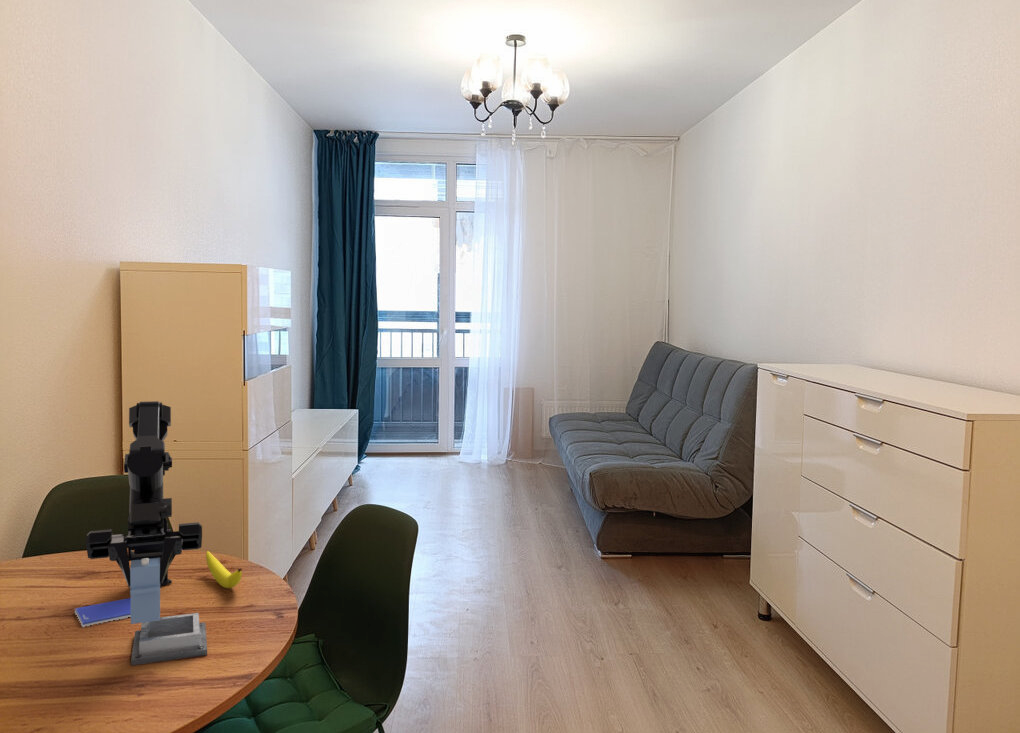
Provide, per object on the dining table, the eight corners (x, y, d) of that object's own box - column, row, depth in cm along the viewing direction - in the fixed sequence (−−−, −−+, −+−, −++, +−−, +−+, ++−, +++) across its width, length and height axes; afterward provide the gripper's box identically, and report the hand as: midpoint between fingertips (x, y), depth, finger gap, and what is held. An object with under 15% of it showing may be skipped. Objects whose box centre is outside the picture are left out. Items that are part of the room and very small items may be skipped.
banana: (213, 570, 175) (213, 543, 174) (247, 596, 160) (247, 567, 160) (200, 573, 173) (201, 546, 172) (233, 600, 158) (233, 570, 158)
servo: (132, 612, 137) (131, 553, 136) (160, 609, 138) (159, 550, 137) (130, 626, 131) (129, 564, 130) (159, 622, 133) (159, 561, 132)
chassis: (135, 636, 140) (135, 617, 140) (205, 627, 145) (205, 609, 145) (131, 665, 129) (131, 645, 129) (207, 654, 134) (207, 635, 134)
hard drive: (82, 622, 143) (153, 607, 151) (74, 607, 149) (142, 594, 157) (82, 630, 143) (153, 615, 151) (74, 615, 150) (142, 601, 157)
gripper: (86, 486, 132) (80, 569, 123) (201, 479, 140) (204, 557, 131) (90, 518, 140) (85, 598, 131) (200, 510, 148) (202, 585, 139)
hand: (145, 584), depth 133 cm, fingers closed on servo, 5 cm apart
